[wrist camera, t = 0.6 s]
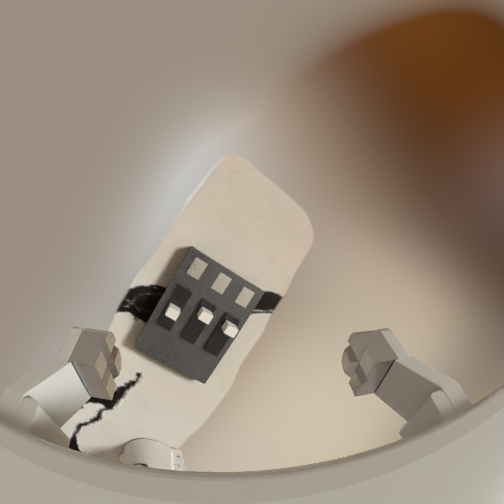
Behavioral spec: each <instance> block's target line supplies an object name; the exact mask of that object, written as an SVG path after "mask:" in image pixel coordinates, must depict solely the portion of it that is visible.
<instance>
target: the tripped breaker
mask: <svg viewBox="0 0 504 504" xmlns="http://www.w3.org/2000/svg"><path fill="white" fill-rule="evenodd" d="M180 310H181V308H179V307H177V306H176V305H174V304H172V303H170V304H169V306H168V308H167V309H166V313H165V315H166V316H168V317H169V318H171V319H173V320H174V321H176V319H177V318H178V316H179V314H180Z"/></svg>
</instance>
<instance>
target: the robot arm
mask: <svg viewBox="0 0 504 504" xmlns="http://www.w3.org/2000/svg"><path fill="white" fill-rule="evenodd" d="M115 341H116V340H115V337H114V334H113V333H112V332H109V331H102V330H95V329H89V328H81V327H76V326H74V327H73V328H71V329H70V331H69V333H68V335H67V336H66V338H65V340H64V342H63V344H62V346H61V348H60V350H59V351H58V353H57V355H56V357H55V358H51V359H49V360H47V361H46V362H45V363H43V364H41V365H40V366H38V367H37V368H35V369H34V370H32V371H31V372H29V373H28V374H26V375H25V376H23V377H22V378H20V379H19V380H17V381H16V382H14V383H13V384H11V385H10V386H8V387H7V388H6V390H5V392H4V394H3V396H2V398H1V400H0V504H504V385H503V386H502V387H500V388H499V389H497V390H496V391H494V392H493V393H491V394H490V395H488V396H487V397H485V398H484V399H482V400H480V401H479V402H477V403H475V404H474V405H472V404H471V402H470V401H469V399H468V398H467V396H466V394H465V393H464V391H463V390H462V388H461V387H460V385H459V384H458V382H456V381H455V380H453V379H451V378H449V377H448V376H446V375H444V374H442V373H441V372H439V371H437V370H435V369H433V368H432V367H430V366H428V365H427V364H425V363H423V362H421V361H420V360H418V359H416V358H414V357H413V356H411V357H409V356H408V355H407V353H406V351H405V350H404V348H403V347H402V345H401V344H400V342H399V341H398V339H397V338H396V337H395V335H394V334H393V332H392V331H391V330H390V329H388V328H385V329H378V330H371V331H363V332H355V333H352V334H351V335H350V337H349V340H348V342H349V344H350V345H349V346H348V347H347V348H346V349H345V350H344V352H343V355H342V366H343V370H344V372H345V374H346V375H348V376H349V377H351V378H350V381H349V384H350V386H351V388H352V390H353V393H354V395H355V396H360V395H365V394H371V393H375V395H377V396H378V397H379V398H381V400H383V401H384V402H385V403H386V404H387V405H389V406H390V407H391V408H392V409H393V410H395V411H396V412H397V413H398V414H399V415H401V416H402V417H403V418H404V419H405V420H407V421H408V422H407V423H406V424H405V425H404V426H403V427H402V428H401V430H400V435H401V437H402V439H400V440H398V441H395V442H392V443H389V444H387V445H384V446H381V447H378V448H375V449H371V450H368V451H365V452H361V453H358V454H354V455H350V456H346V457H342V458H338V459H334V460H329V461H324V462H320V463H314V464H309V465H303V466H297V467H289V468H282V469H272V470H263V471H246V472H194V471H187V470H186V467H185V463H184V460H183V455H182V452H181V450H178V449H175V448H170V447H168V446H166V445H164V444H162V443H160V442H157V441H154V440H149V439H136V440H132V441H130V442H128V443H127V444H126V445H125V447H124V451H123V453H122V454H120V456H119V459H120V461H121V462H117V461H113V460H108V459H104V458H100V457H96V456H92V455H89V454H85V453H82V452H78V451H75V450H72V449H69V448H68V447H69V443H70V440H69V438H68V437H67V435H66V434H65V433H64V432H63V431H62V430H61V429H60V428H61V427H62V426H63V425H64V424H65V423H66V422H67V421H68V420H69V419H70V418H71V417H72V416H73V415H74V414H75V413H76V412H77V411H78V410H79V409H80V408H81V407H82V406H83V405H84V404H85V403H86V402H87V401H88V400H89V399H90V396H91V397H97V398H103V399H109V400H112V398H113V394H114V391H115V387H116V384H115V381H114V379H115V378H116V377H117V376H118V375H119V373H120V369H121V355H120V352H119V349H118V348H117V347H115V346H114V344H115ZM177 455H178V456H177Z"/></svg>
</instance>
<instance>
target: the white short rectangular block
mask: <svg viewBox="0 0 504 504" xmlns="http://www.w3.org/2000/svg"><path fill="white" fill-rule="evenodd" d="M221 328H222V330H223V332H224V333H225V334H227V335H228V336H230V337H232V338H234V337H235V335H236V334H237V332H238V331H239V330H238V328H237V327H236V325H235V324H233V323H231V322H229V321H227V320H226V321H225V323H224V324H223V326H222V327H221Z"/></svg>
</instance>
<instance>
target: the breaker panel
mask: <svg viewBox="0 0 504 504" xmlns="http://www.w3.org/2000/svg"><path fill="white" fill-rule="evenodd" d="M263 294H264V291H263V290H261V289H260V288H258V287H257V286H255V285H253V284H252V283H250V282H248V281H247V280H245V279H244V278H242V277H240V276H239V275H237V274H235V273H234V272H232V271H231V270H229V269H227V268H226V267H224V266H223V265H221V264H219V263H218V262H216V261H215V260H213V259H211V258H210V257H208V256H207V255H205V254H204V253H202V252H200V251H199V250H197V249H196V248H194V247H193V246H192V247H191V248H190V250H189V252H188V253H187V255H186V256H185V258H184V260H183V261H182V263H181V265H180V266H179V268H178V269H177V271H176V273H175V274H174V276H173V278H172V279H171V281H170V283H169V284H168V286H167V288H166V290H165V291H164V293H163V295H162V296H161V298H160V300H159V302H158V303H157V305H156V307H155V308H154V310H153V312H152V314H151V315H150V317H149V319H148V321H147V323H146V324H145V326H144V328H143V330H142V332H141V333H140V335H139V337H138V339H137V341H136V343H135V345H134V348H136V349H138V350H140V351H141V352H143V353H145V354H147V355H149V356H150V357H152V358H154V359H156V360H158V361H160V362H161V363H163V364H165V365H167V366H169V367H171V368H173V369H175V370H177V371H179V372H181V373H183V374H185V375H187V376H189V377H191V378H193V379H196V380H198V381H200V382H202V383H204V384H205V383H206V381H207V380H208V378H209V377H210V375H211V374H212V372H213V371H214V369H215V368H216V366H217V365H218V363H219V362H220V360H221V359H222V357H223V356H224V354H225V353H226V351H227V350H228V348H229V347H230V345H231V344H232V342H233V341H234V339H235V337H236V336H237V334H238V333H239V331H240V330H241V328H242V327H243V325H244V324H245V322H246V321H247V319H248V317H249V316H250V314H251V313H252V311H253V310H254V308H255V306H256V305H257V303H258V302H259V300H260V299H261V297H262V295H263ZM170 303H172V304H174V305H176V306H177V307H179V308H181V310H180V314H179V316H178V318H177V319H176V321H174V320H173V319H171V318H169V317H168V316H166V315H165V313H166V309H167V308H168V306H169V304H170ZM201 307H204V308H206V309H208V310H209V311H211V312H212V314H213V318H212V320H211V321H210V323H209V325H208V324H206V323H204V322H203V321H201V320H199V319H198V316H197V313H198V312H199V310H200V309H201ZM226 320H227V321H229V322H231V323H233V324H235V325H236V327H237V328H238V330H239V331H238V332H237V334H236V335H235V337H234V338H232V337H230V336H228V335H227V334H225V333H224V332H223V330H222V328H221V327H222V326H223V324H224V323H225V321H226Z"/></svg>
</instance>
